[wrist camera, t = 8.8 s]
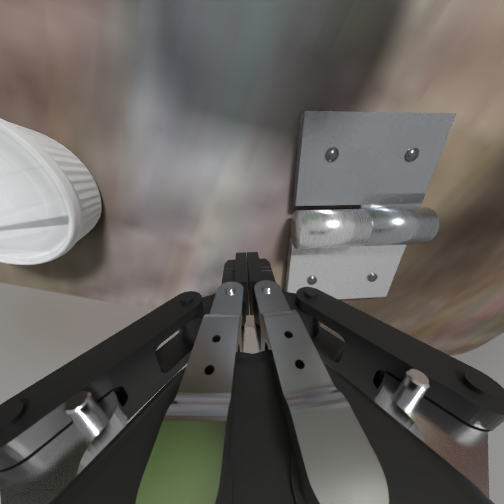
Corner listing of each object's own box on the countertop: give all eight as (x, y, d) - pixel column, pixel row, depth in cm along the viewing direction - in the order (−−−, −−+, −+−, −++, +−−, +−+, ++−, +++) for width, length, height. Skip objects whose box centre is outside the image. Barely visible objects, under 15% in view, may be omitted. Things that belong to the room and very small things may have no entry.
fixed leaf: (448, 117, 18) (503, 104, 14) (403, 236, 23) (435, 249, 19) (300, 114, 17) (318, 99, 13) (289, 240, 22) (299, 254, 18)
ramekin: (77, 261, 21) (30, 289, 16) (-44, 182, 17) (-154, 189, 12) (137, 196, 19) (103, 206, 14) (14, 85, 14) (-95, 45, 10)
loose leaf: (411, 204, 21) (448, 212, 17) (380, 291, 26) (402, 311, 23) (292, 206, 20) (304, 215, 16) (284, 296, 25) (292, 317, 22)
